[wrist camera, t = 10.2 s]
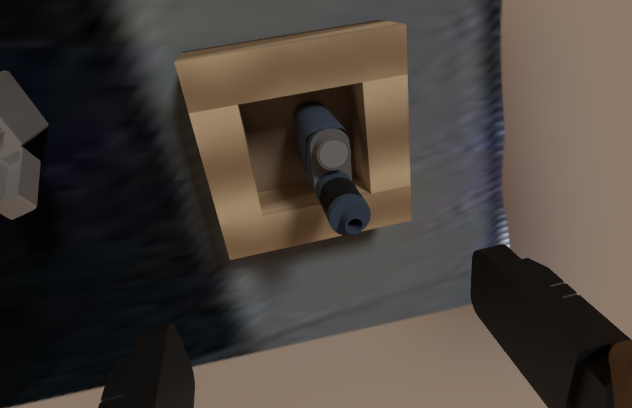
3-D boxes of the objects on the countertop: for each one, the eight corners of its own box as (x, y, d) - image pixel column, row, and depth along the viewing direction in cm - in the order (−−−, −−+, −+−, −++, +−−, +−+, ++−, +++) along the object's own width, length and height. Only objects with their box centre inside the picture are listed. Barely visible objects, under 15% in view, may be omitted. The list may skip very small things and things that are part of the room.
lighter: (-18, 80, 27) (-104, 110, 20) (7, 69, 27) (-72, 95, 20) (56, 172, 30) (4, 226, 23) (77, 162, 30) (32, 213, 23)
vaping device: (298, 167, 32) (332, 250, 22) (289, 100, 30) (323, 158, 19) (330, 162, 33) (379, 241, 22) (324, 95, 30) (376, 149, 20)
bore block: (182, 51, 28) (174, 62, 24) (379, 19, 30) (406, 24, 25) (229, 226, 35) (229, 260, 30) (388, 193, 36) (411, 220, 32)
